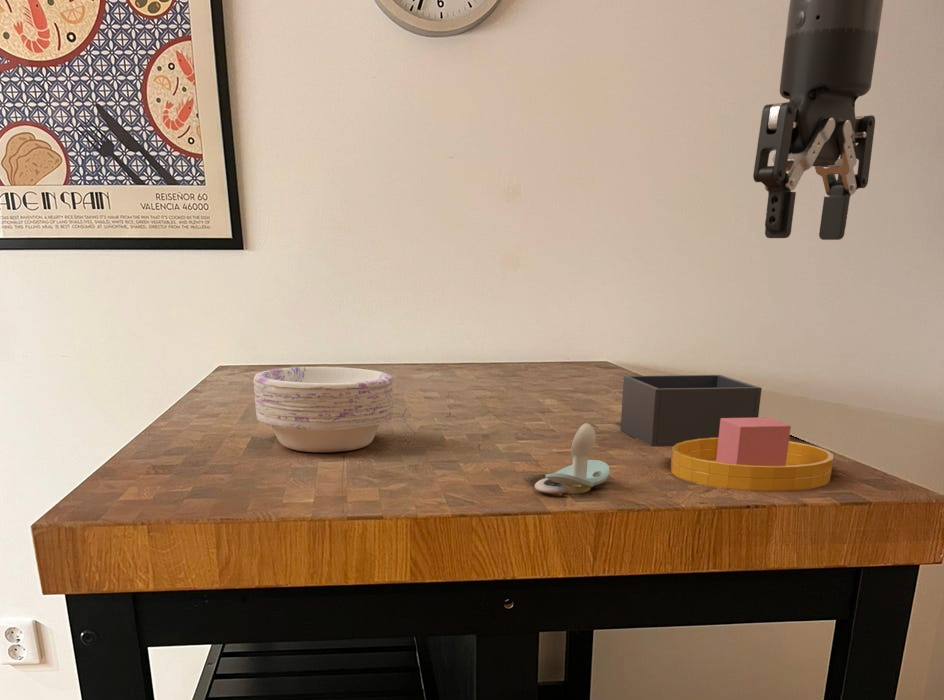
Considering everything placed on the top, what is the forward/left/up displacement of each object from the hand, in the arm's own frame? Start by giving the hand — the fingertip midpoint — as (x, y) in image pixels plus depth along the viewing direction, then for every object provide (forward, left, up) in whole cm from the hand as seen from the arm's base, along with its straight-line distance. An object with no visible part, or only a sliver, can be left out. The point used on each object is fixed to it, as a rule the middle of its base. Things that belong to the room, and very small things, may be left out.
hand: (804, 238), depth 88 cm
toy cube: (+3, +2, -21) cm, 22 cm away
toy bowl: (+3, +2, -22) cm, 22 cm away
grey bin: (+2, -19, -22) cm, 29 cm away
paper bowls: (+44, -19, -22) cm, 53 cm away
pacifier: (+22, +6, -22) cm, 32 cm away
